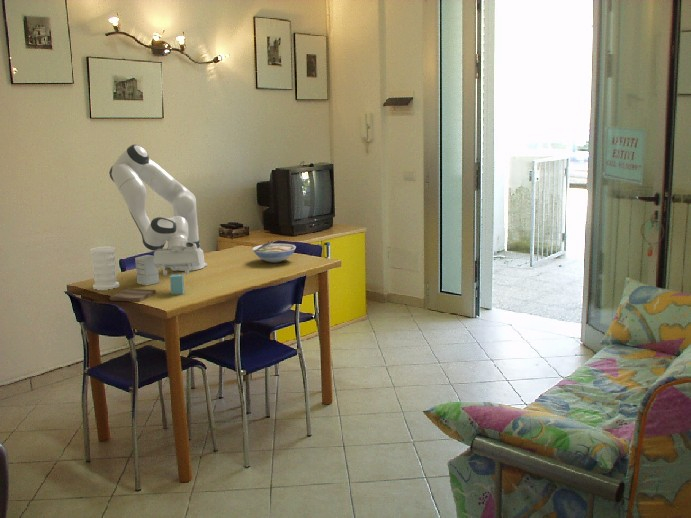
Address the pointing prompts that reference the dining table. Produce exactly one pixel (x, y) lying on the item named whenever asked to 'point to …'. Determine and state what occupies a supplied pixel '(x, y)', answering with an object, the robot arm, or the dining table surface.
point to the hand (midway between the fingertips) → (176, 274)
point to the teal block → (177, 284)
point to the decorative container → (104, 268)
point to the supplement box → (146, 270)
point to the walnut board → (132, 295)
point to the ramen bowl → (274, 251)
